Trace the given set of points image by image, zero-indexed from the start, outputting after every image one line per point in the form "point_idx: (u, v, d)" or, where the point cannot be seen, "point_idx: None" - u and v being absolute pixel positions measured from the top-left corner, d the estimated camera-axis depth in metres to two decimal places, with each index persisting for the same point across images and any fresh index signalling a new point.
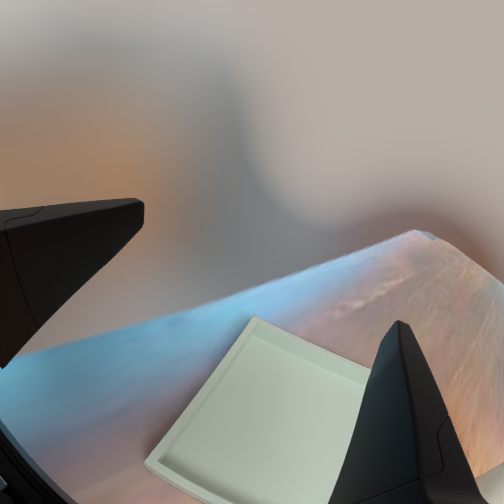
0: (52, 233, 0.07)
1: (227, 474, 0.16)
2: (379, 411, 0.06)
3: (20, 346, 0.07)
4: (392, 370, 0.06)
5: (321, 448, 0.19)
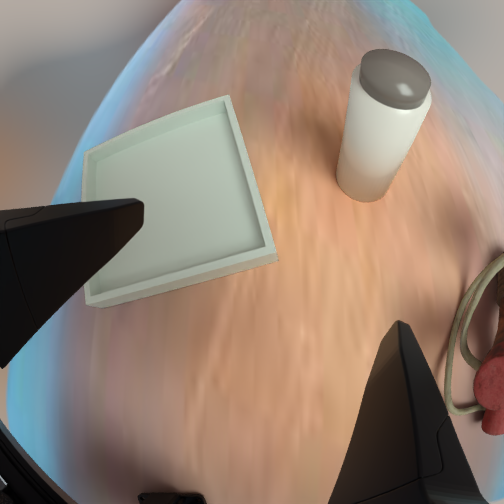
0: (52, 233, 0.07)
1: (137, 265, 0.24)
2: (379, 411, 0.06)
3: (20, 346, 0.07)
4: (392, 370, 0.06)
5: (185, 192, 0.25)
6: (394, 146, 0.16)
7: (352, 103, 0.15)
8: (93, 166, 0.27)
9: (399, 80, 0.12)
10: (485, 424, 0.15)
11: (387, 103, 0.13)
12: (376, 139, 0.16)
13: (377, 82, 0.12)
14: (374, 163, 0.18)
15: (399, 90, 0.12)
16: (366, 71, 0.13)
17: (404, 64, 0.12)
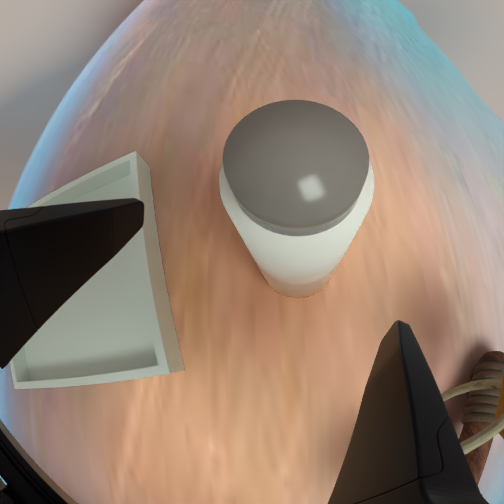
0: (52, 233, 0.07)
1: (53, 354, 0.19)
2: (379, 411, 0.06)
3: (20, 346, 0.07)
4: (392, 370, 0.06)
5: (90, 279, 0.20)
6: (305, 271, 0.11)
7: None
8: None
9: (292, 181, 0.07)
10: None
11: (268, 227, 0.08)
12: (272, 265, 0.11)
13: (241, 195, 0.08)
14: (285, 280, 0.13)
15: (285, 210, 0.07)
16: (227, 168, 0.08)
17: (317, 133, 0.08)
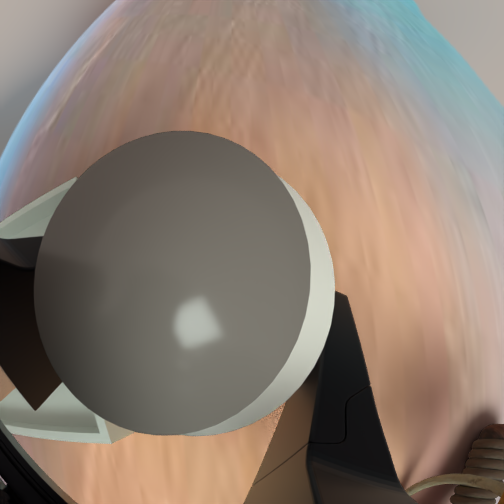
0: None
1: (11, 396, 0.15)
2: None
3: (55, 386, 0.07)
4: None
5: None
6: None
7: None
8: None
9: (125, 345, 0.03)
10: None
11: None
12: None
13: (52, 357, 0.03)
14: None
15: (113, 403, 0.03)
16: (37, 297, 0.04)
17: (191, 218, 0.04)
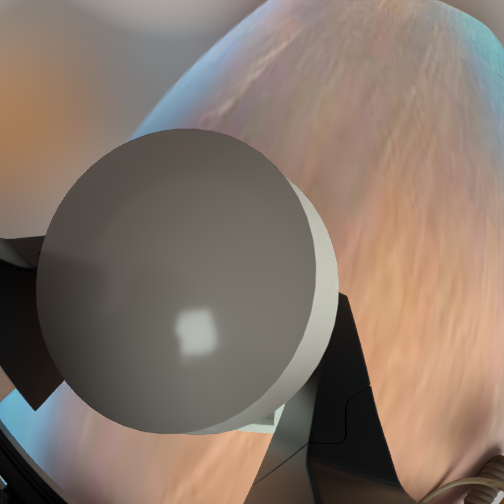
0: None
1: None
2: None
3: (55, 386, 0.07)
4: None
5: None
6: None
7: None
8: None
9: (129, 343, 0.03)
10: None
11: None
12: None
13: (54, 355, 0.03)
14: None
15: (116, 402, 0.03)
16: (39, 295, 0.04)
17: (196, 216, 0.04)
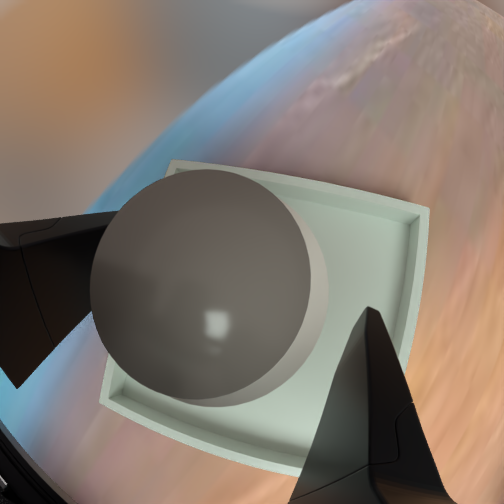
0: (71, 248, 0.07)
1: None
2: (342, 396, 0.06)
3: (36, 365, 0.07)
4: (356, 355, 0.06)
5: None
6: None
7: None
8: None
9: (175, 332, 0.05)
10: None
11: None
12: None
13: (108, 345, 0.05)
14: None
15: (163, 378, 0.04)
16: (93, 298, 0.05)
17: (225, 239, 0.05)
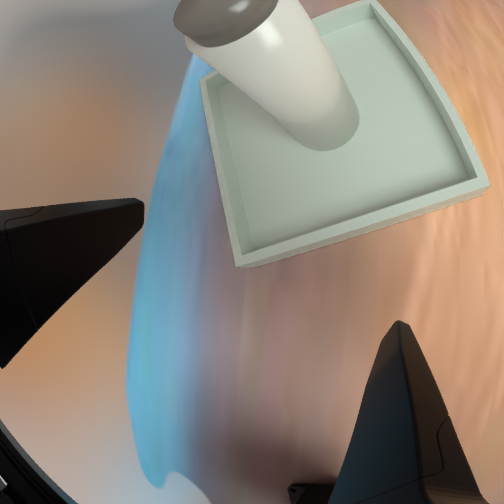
0: (52, 233, 0.07)
1: (303, 207, 0.19)
2: (379, 411, 0.06)
3: (20, 346, 0.07)
4: (392, 370, 0.06)
5: None
6: (299, 72, 0.11)
7: (213, 67, 0.11)
8: (215, 94, 0.22)
9: (221, 2, 0.07)
10: None
11: (231, 38, 0.08)
12: (270, 82, 0.11)
13: (195, 29, 0.08)
14: (302, 105, 0.13)
15: (225, 13, 0.07)
16: (180, 28, 0.08)
17: None
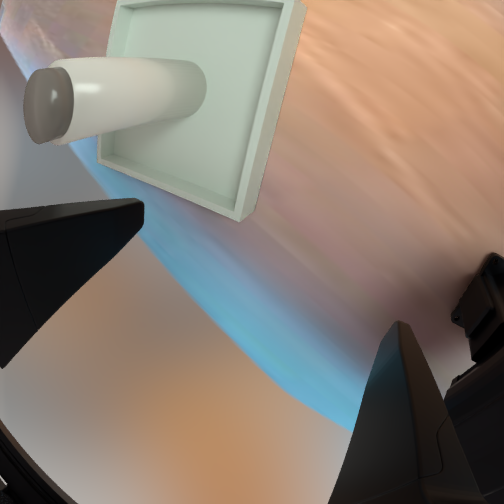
0: (52, 233, 0.07)
1: (231, 144, 0.21)
2: (379, 411, 0.06)
3: (20, 346, 0.07)
4: (392, 370, 0.06)
5: None
6: (123, 84, 0.13)
7: (83, 138, 0.14)
8: (115, 157, 0.26)
9: (43, 106, 0.10)
10: None
11: (69, 113, 0.11)
12: (116, 107, 0.13)
13: (49, 130, 0.11)
14: (150, 96, 0.15)
15: (51, 107, 0.10)
16: (43, 140, 0.11)
17: (31, 97, 0.11)
